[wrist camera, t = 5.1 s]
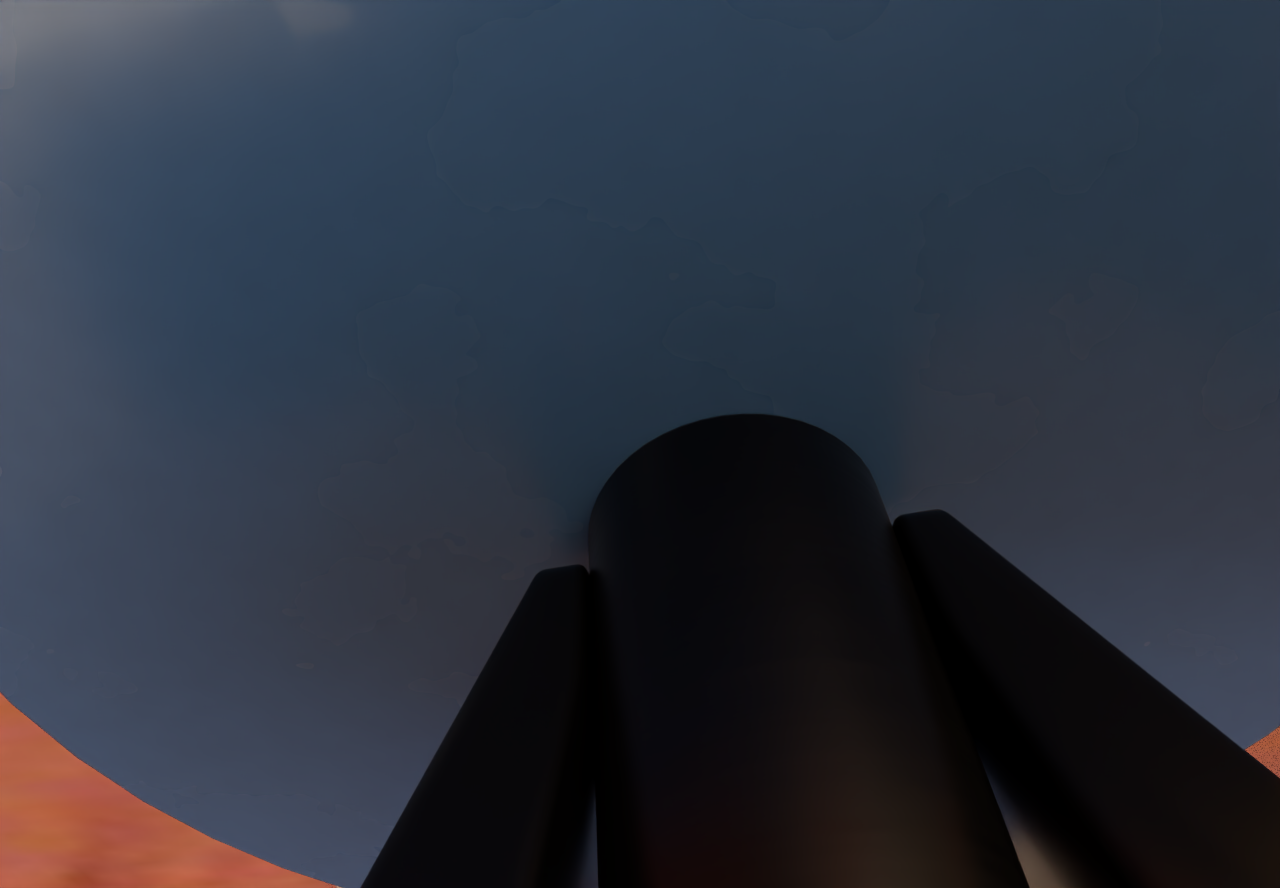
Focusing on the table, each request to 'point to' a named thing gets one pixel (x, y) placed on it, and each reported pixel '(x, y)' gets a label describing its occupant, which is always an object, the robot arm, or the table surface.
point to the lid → (625, 395)
